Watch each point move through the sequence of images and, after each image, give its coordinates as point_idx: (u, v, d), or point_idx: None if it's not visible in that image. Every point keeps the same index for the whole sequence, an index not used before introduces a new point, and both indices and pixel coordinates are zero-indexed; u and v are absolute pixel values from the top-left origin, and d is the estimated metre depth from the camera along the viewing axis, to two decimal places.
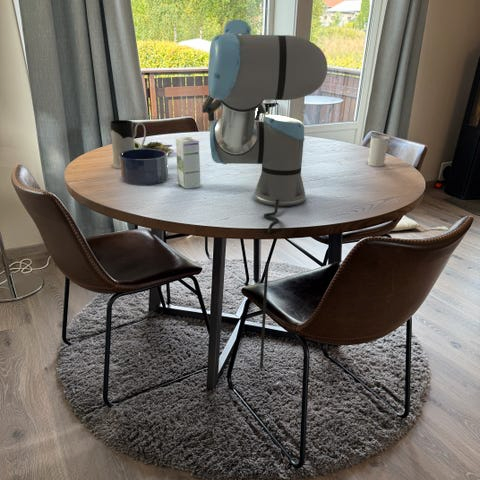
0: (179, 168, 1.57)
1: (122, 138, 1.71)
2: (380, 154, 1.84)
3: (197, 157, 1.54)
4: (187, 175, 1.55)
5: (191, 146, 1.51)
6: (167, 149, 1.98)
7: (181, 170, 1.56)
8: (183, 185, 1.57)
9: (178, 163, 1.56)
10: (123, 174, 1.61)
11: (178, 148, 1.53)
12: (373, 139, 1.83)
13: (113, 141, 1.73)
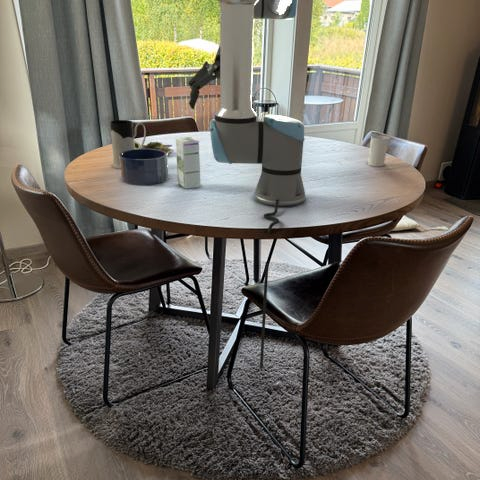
0: (179, 168, 1.57)
1: (122, 138, 1.71)
2: (380, 154, 1.84)
3: (197, 157, 1.54)
4: (187, 175, 1.55)
5: (191, 146, 1.51)
6: (167, 149, 1.98)
7: (181, 170, 1.56)
8: (183, 185, 1.57)
9: (178, 163, 1.56)
10: (123, 174, 1.61)
11: (178, 148, 1.53)
12: (373, 139, 1.83)
13: (113, 141, 1.73)
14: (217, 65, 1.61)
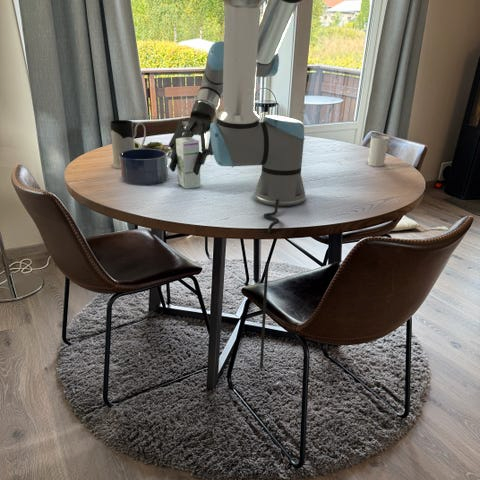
0: (179, 168, 1.57)
1: (122, 138, 1.71)
2: (380, 154, 1.84)
3: None
4: (187, 175, 1.55)
5: (192, 146, 1.51)
6: (167, 149, 1.98)
7: (181, 170, 1.56)
8: (183, 185, 1.57)
9: (178, 163, 1.56)
10: (123, 174, 1.61)
11: (178, 148, 1.53)
12: (373, 139, 1.83)
13: (113, 141, 1.73)
14: (192, 122, 1.56)
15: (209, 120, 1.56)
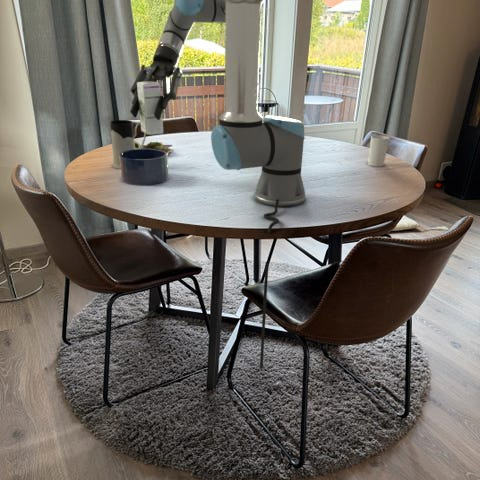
0: (141, 113, 1.53)
1: (122, 138, 1.71)
2: (380, 154, 1.84)
3: None
4: (149, 120, 1.52)
5: (152, 89, 1.48)
6: (167, 149, 1.98)
7: (142, 116, 1.53)
8: (145, 131, 1.54)
9: (140, 108, 1.53)
10: (123, 174, 1.61)
11: (139, 92, 1.50)
12: (373, 139, 1.83)
13: (113, 141, 1.73)
14: (154, 66, 1.53)
15: (171, 64, 1.53)
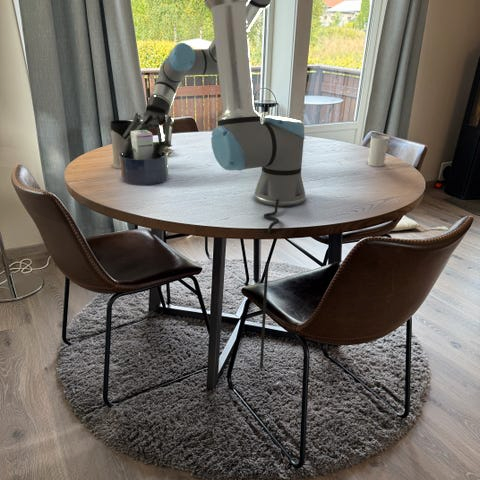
0: None
1: (122, 138, 1.71)
2: (380, 154, 1.84)
3: (151, 149, 1.60)
4: None
5: (145, 138, 1.57)
6: (167, 149, 1.98)
7: None
8: None
9: (133, 155, 1.62)
10: (123, 174, 1.61)
11: (133, 140, 1.59)
12: (373, 139, 1.83)
13: (113, 141, 1.73)
14: (147, 116, 1.62)
15: (163, 114, 1.62)
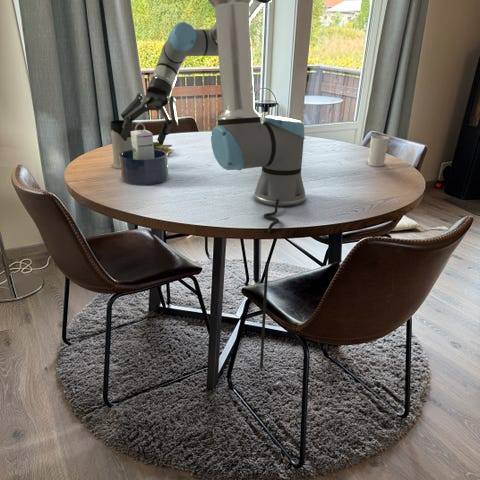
0: None
1: (122, 138, 1.71)
2: (380, 154, 1.84)
3: (151, 149, 1.60)
4: None
5: (145, 138, 1.57)
6: (167, 149, 1.98)
7: None
8: None
9: (134, 155, 1.62)
10: (123, 174, 1.61)
11: (133, 140, 1.59)
12: (373, 139, 1.83)
13: (113, 141, 1.73)
14: (149, 97, 1.61)
15: (165, 95, 1.60)
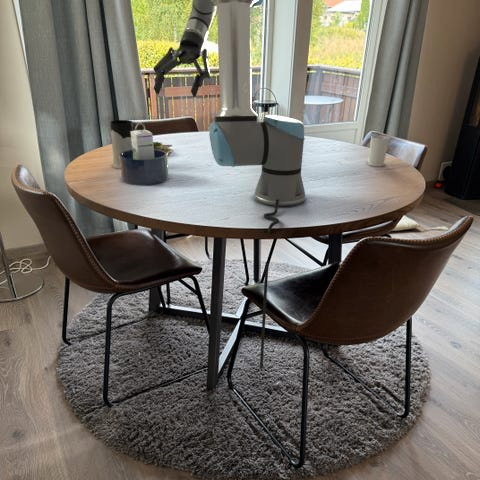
0: None
1: (122, 138, 1.71)
2: (380, 154, 1.84)
3: (151, 149, 1.60)
4: None
5: (145, 138, 1.57)
6: (167, 149, 1.98)
7: None
8: None
9: (134, 155, 1.62)
10: (123, 174, 1.61)
11: (133, 140, 1.59)
12: (373, 139, 1.83)
13: (113, 141, 1.73)
14: (181, 50, 1.63)
15: (197, 49, 1.62)
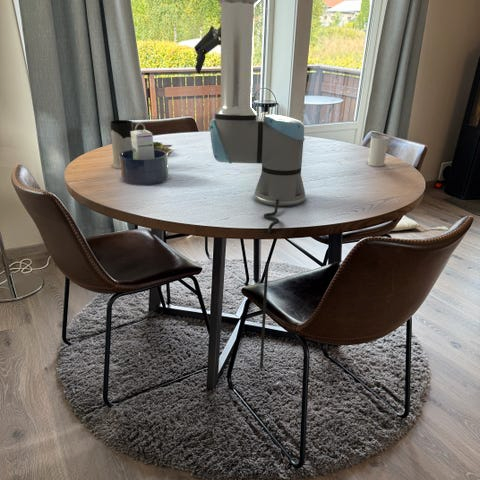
0: None
1: (122, 138, 1.71)
2: (380, 154, 1.84)
3: (151, 149, 1.60)
4: None
5: (145, 138, 1.57)
6: (167, 149, 1.98)
7: None
8: None
9: (134, 155, 1.62)
10: (123, 174, 1.61)
11: (133, 140, 1.59)
12: (373, 139, 1.83)
13: (113, 141, 1.73)
14: None
15: None
